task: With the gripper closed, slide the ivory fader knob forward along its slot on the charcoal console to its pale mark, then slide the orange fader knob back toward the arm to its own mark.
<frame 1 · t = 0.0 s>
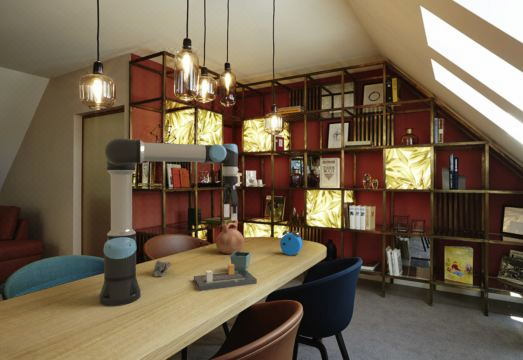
hand: (230, 218, 158), 28 cm above the table, fingers open, 13 cm apart
flower pot: (240, 271, 165), on the table
fader orange: (231, 269, 153), point 4 cm above the table, slide at 12.0 cm
mineral specimen: (162, 274, 160), on the table
console: (224, 281, 148), on the table
fader ivory: (209, 276, 142), point 4 cm above the table, slide at 0.0 cm
alarm clock: (291, 255, 200), on the table
jug: (230, 252, 206), on the table
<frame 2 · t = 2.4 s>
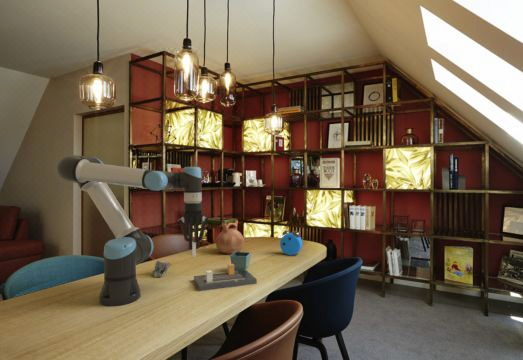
hand: (193, 256, 139), 14 cm above the table, fingers closed
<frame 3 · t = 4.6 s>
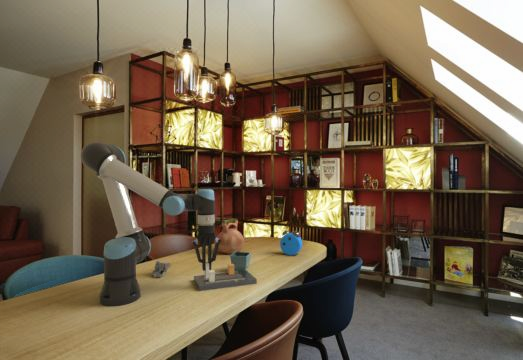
hand: (207, 277, 141), 4 cm above the table, fingers closed
fader ivory: (211, 276, 142), point 4 cm above the table, slide at 1.0 cm, touching gripper
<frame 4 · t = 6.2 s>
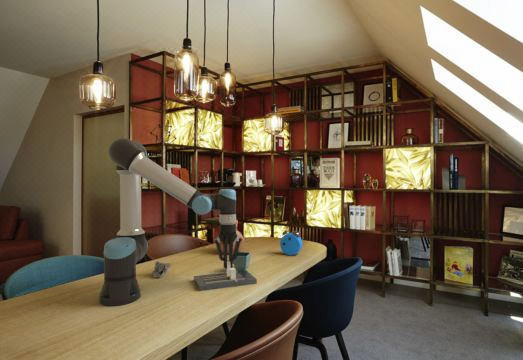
hand: (228, 275, 145), 4 cm above the table, fingers closed
fader ivory: (232, 273, 146), point 4 cm above the table, slide at 10.7 cm, touching gripper
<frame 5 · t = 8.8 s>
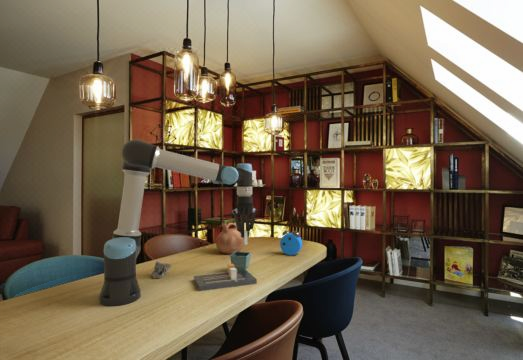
hand: (245, 244, 155), 16 cm above the table, fingers closed
fader ivory: (233, 273, 146), point 4 cm above the table, slide at 11.0 cm
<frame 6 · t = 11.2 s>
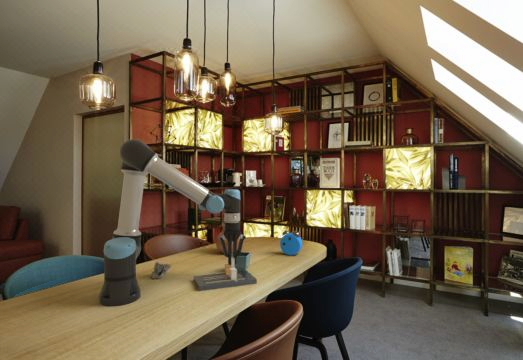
hand: (232, 270, 153), 4 cm above the table, fingers closed
fader orange: (228, 269, 152), point 4 cm above the table, slide at 10.6 cm, touching gripper
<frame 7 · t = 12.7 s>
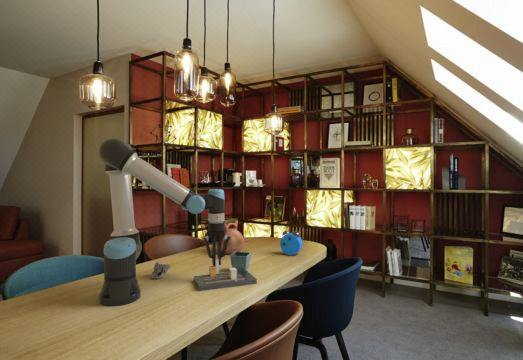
hand: (216, 272, 150), 4 cm above the table, fingers closed
fader orange: (212, 271, 149), point 4 cm above the table, slide at 3.0 cm, touching gripper
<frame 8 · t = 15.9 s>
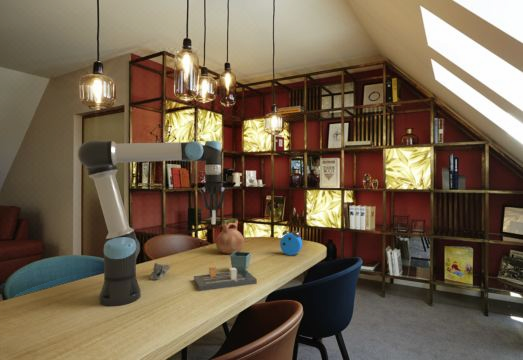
hand: (213, 223, 151), 26 cm above the table, fingers closed
fader orange: (212, 271, 149), point 4 cm above the table, slide at 3.0 cm
at the end: fader ivory slide at 11.0 cm; fader orange slide at 3.0 cm; fader ivory touching nothing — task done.
